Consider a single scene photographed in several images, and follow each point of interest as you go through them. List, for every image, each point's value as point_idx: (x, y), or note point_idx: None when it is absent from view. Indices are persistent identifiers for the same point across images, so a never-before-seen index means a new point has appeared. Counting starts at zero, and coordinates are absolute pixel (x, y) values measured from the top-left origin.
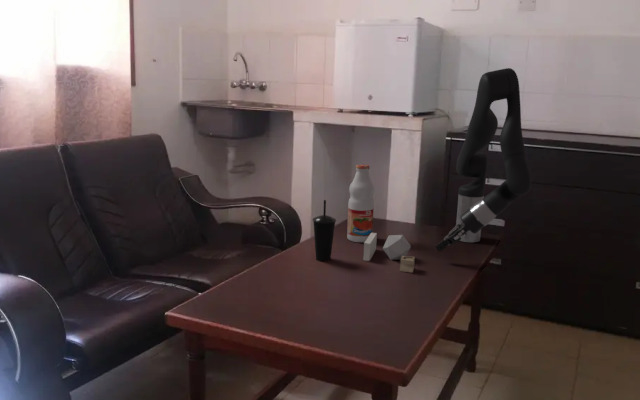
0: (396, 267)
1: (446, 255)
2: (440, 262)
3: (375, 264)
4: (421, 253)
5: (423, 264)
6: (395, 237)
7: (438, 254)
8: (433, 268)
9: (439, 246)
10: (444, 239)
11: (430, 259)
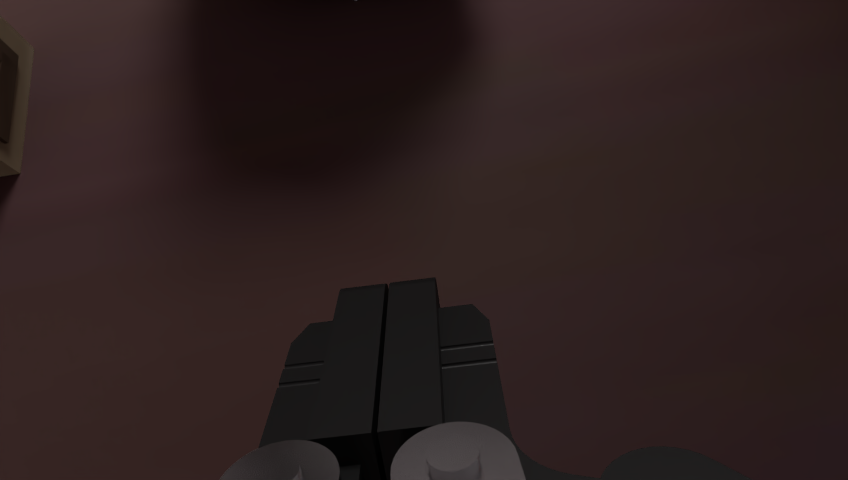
0: (21, 9)
1: (845, 466)
2: None
3: None
4: (709, 107)
5: (223, 237)
6: None
7: (815, 331)
8: (89, 395)
9: (290, 367)
10: (243, 466)
11: (488, 274)
